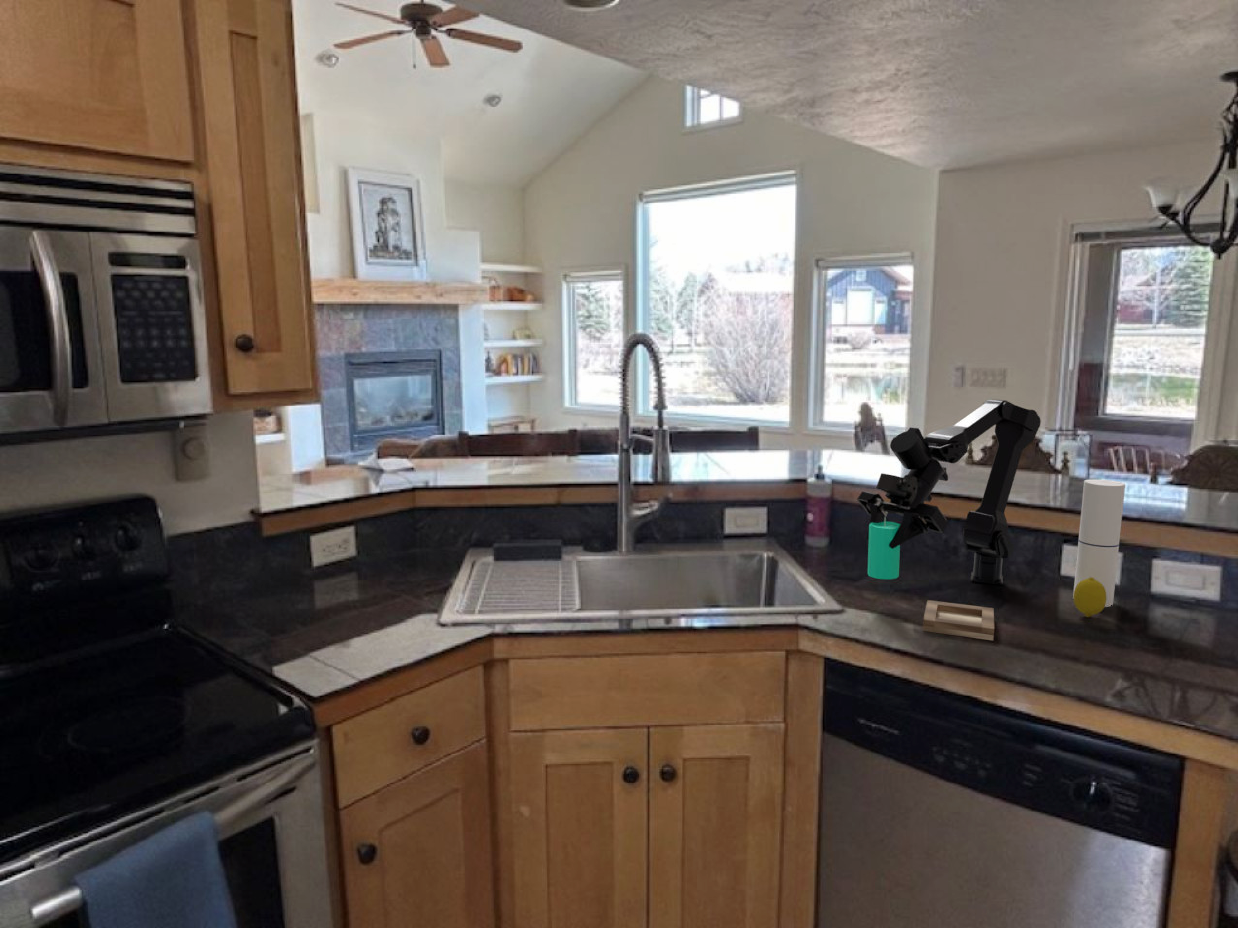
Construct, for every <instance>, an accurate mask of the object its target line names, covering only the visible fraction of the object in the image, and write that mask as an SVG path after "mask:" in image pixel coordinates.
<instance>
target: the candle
mask: <svg viewBox="0 0 1238 928" xmlns="http://www.w3.org/2000/svg"><path fill="white" fill-rule="evenodd" d="M901 524H902V523H897V522H894V521H890V522H886V521H885V522H880V523H873V522H871V523H870V522H869V525H868V529H869V542H868V544H867V547H868V548H867V551H868V552H867V553H868V554H867V575H868V577H871V578H874V579H879V580H896V579H897V578H899V576H900V557H901V556H900V554H901V553H900V551H901V544H900V545H898V546H897V547H895V548H893V549H892V548H890V547H889V544H890V542H891V541H892V539H893V537H894V536H895V534H896V532H897V530H898V528H899V527H900V525H901Z"/></svg>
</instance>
